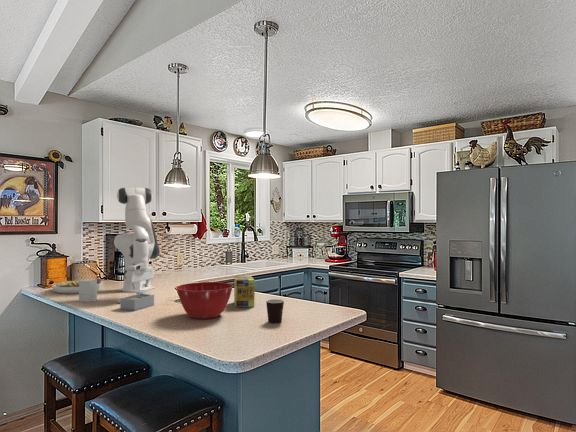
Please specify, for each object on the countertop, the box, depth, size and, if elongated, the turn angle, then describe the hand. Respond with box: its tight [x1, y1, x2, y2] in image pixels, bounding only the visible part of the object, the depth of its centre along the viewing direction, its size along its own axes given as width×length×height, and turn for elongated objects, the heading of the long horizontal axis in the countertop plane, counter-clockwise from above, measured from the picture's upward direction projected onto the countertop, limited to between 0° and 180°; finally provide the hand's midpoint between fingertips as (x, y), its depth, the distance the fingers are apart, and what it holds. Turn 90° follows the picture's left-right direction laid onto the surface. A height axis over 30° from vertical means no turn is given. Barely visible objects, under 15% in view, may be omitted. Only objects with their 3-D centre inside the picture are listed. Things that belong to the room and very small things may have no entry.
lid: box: [117, 291, 147, 302], centre depth 234 cm, size 16×11×4 cm
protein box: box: [233, 275, 256, 309], centre depth 227 cm, size 10×15×16 cm
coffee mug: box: [266, 298, 285, 325], centre depth 191 cm, size 12×9×10 cm
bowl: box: [51, 278, 103, 295], centre depth 269 cm, size 30×30×8 cm
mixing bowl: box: [176, 281, 234, 320], centre depth 201 cm, size 28×28×16 cm
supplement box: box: [78, 278, 98, 303], centre depth 235 cm, size 7×7×13 cm
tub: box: [119, 293, 155, 312], centre depth 219 cm, size 15×10×6 cm, turn 158°
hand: (140, 288), depth 239 cm, fingers open, 8 cm apart
